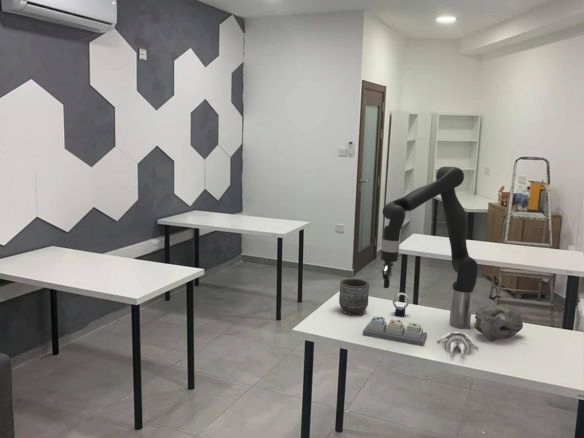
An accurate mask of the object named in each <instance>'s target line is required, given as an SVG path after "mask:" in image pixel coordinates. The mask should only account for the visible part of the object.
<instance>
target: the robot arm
mask: <svg viewBox="0 0 584 438" xmlns="http://www.w3.org/2000/svg"><path fill="white" fill-rule="evenodd" d="M464 180H465V174H464V171H463V170H462V169H461V168H459V167H456V166H441V167H440V168H439V169H437V171H436V175H435V181H433V182H431V183H428V184H426V185H423V186H421V187H418V188H416V189H414V190H413V191H412V190H411V192H409V193H407V194H406V195H404V196H402V197H400V198H398V199H394V200H392V201H390V202H388V203H386V204H385V205H384V207H383V209H382V216H383V217H384V218H386V219H387V220H389V221H388V225H385V226H384V228H383V234H382V235H383V236H382V241H381V251H380V260H381V261H383V262H384V264H383V265H382V270H381V272H382V273H381V275H382V280H384V281H383V288H384V289H389V288H390V283H391V280H392V277H393V272H394V267H395V264H394V263H396V262H398V261H399V252H400V237H401V229H402V228H403V224H404V221H405V220H406V219H405V218H406V212H412V211H414V210H415V209H417V208H418V207H420V206H422V205H423V204H425V203H427V202H429V201H430V200H432V199H433V198H436V197H437V196H439V195H440V198H441V202H442V207H443V213H444V219H445V224H446V225H445V226H446V230H447V234H448V235H447V236H448V241H449V244H450V249H451V250H450V253H451V255H450V256H451V265H452V268H453V270H454V271H455V273H457V276H456V280H455V281H454V282H453V284H452V290H451V291H452V292H451V300H450V311H449V312H450V313H449V322H448V324H449V325H450V326H452V327H453V328H457V329H470V327H471V318H472V312H473V310H472V309H473V299H474V297H473V296H474V289H475V287H476V283H477V279H478V271H479V266H478V263H477V261H476V260H475V259H474V258H473V257H471V256H470V255H469V252H468V247H467V236H468V232H469V225H468V224H469V223H468V218H467V212H466V210H465V208H464V207H463V206H462V204H461V202H460V200H459V199H458V196H457V194H456V189H455V188H457V187H460V185H462V183H463V182H464Z"/></svg>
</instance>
